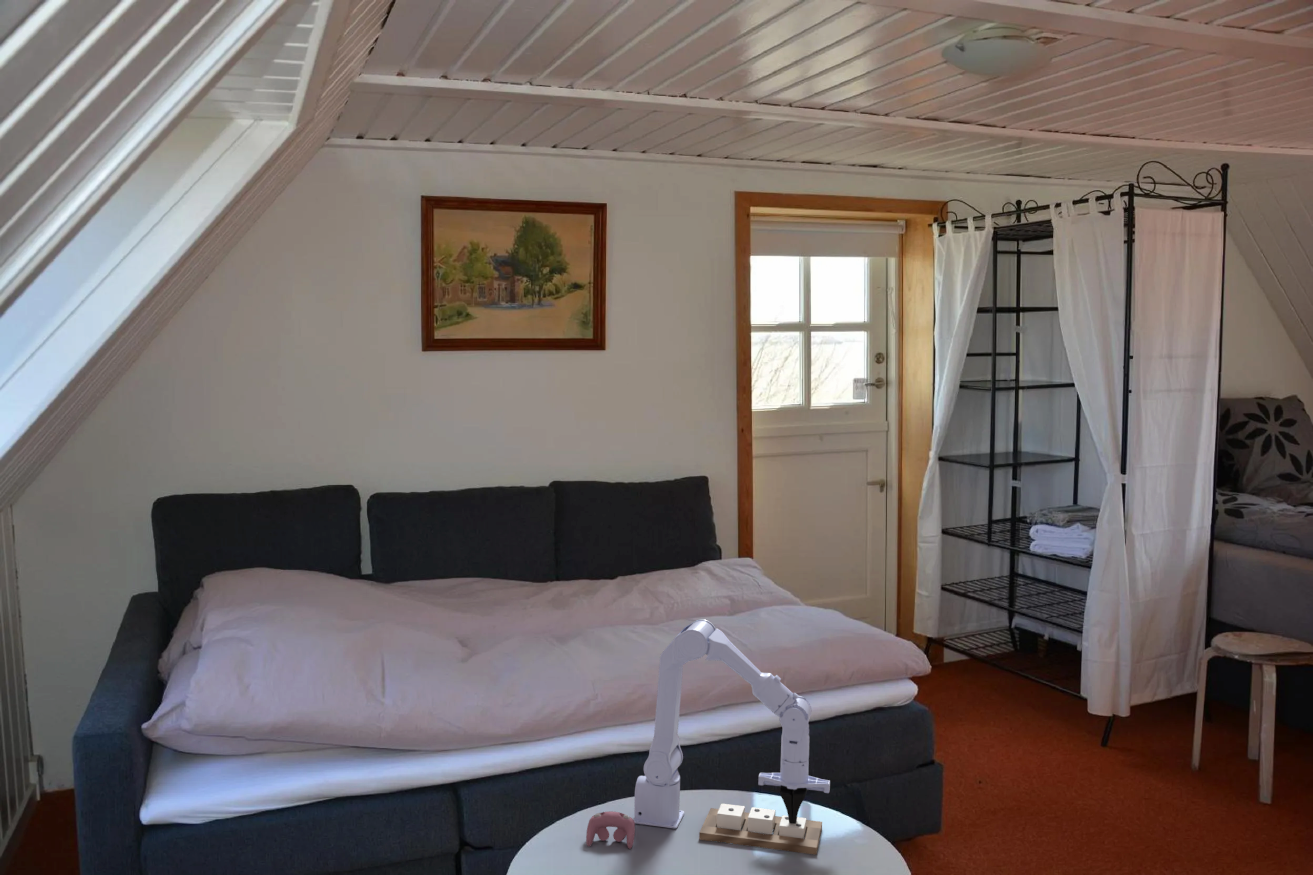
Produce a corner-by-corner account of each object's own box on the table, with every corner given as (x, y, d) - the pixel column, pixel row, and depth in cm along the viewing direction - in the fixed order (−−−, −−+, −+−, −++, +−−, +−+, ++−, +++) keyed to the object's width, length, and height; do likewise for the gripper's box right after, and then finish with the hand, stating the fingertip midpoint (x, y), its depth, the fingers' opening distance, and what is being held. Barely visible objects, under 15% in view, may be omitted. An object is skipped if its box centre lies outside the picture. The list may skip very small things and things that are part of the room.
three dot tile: (779, 839, 218) (779, 824, 218) (782, 828, 223) (782, 814, 222) (803, 842, 217) (803, 828, 216) (806, 831, 221) (806, 817, 221)
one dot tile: (716, 827, 221) (717, 812, 221) (721, 816, 226) (721, 802, 225) (740, 830, 220) (740, 815, 219) (744, 819, 224) (744, 805, 224)
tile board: (699, 839, 218) (699, 832, 218) (710, 814, 230) (710, 807, 230) (816, 854, 213) (816, 847, 212) (822, 828, 224) (822, 821, 224)
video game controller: (635, 849, 217) (637, 812, 220) (632, 848, 213) (635, 811, 215) (587, 846, 218) (589, 810, 221) (584, 846, 214) (586, 809, 216)
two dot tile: (747, 831, 219) (748, 816, 219) (751, 820, 224) (751, 806, 224) (771, 834, 218) (772, 819, 218) (775, 823, 223) (775, 809, 223)
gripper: (756, 760, 216) (755, 825, 217) (828, 768, 212) (826, 834, 214) (761, 748, 223) (760, 810, 224) (831, 755, 219) (829, 819, 221)
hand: (792, 821), depth 219 cm, fingers closed
